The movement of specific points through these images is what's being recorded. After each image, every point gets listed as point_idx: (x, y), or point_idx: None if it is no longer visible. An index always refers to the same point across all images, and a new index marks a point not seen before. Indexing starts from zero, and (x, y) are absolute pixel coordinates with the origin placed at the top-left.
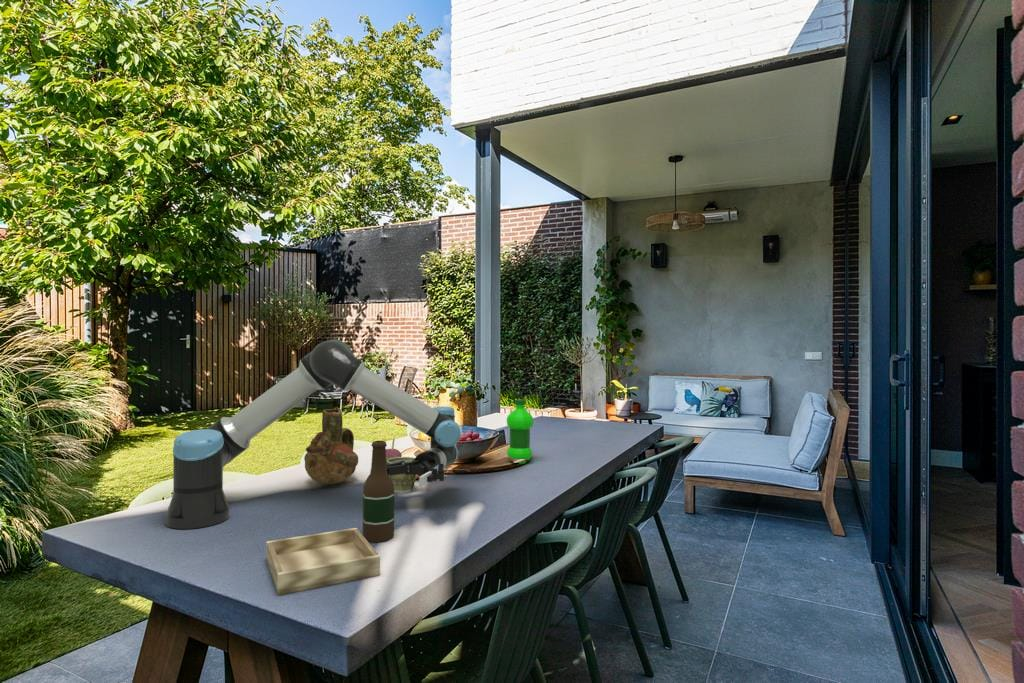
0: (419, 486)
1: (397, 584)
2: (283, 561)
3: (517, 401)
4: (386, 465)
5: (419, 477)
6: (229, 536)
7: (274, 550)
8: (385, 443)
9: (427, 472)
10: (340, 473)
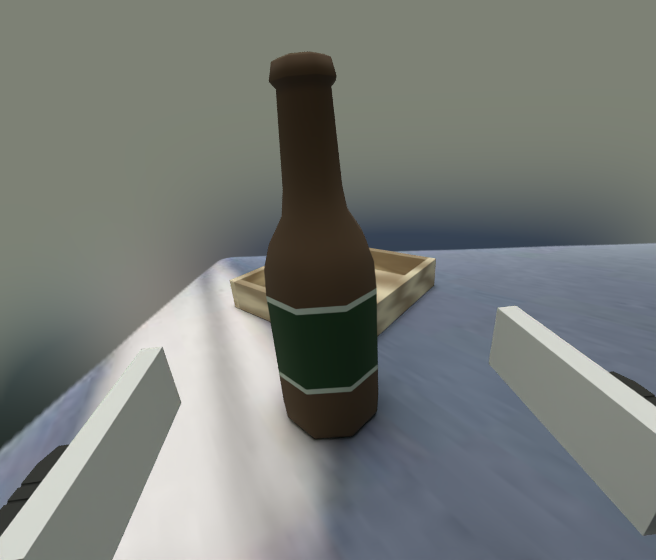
0: (177, 399)
1: (200, 302)
2: (388, 277)
3: None
4: (282, 179)
5: (161, 350)
6: (615, 300)
7: (391, 253)
8: (271, 68)
9: (71, 483)
10: None
